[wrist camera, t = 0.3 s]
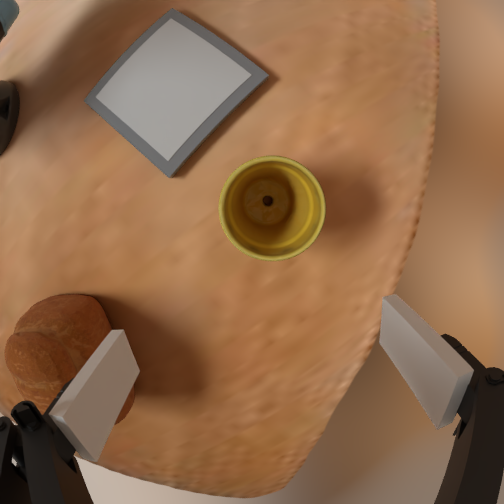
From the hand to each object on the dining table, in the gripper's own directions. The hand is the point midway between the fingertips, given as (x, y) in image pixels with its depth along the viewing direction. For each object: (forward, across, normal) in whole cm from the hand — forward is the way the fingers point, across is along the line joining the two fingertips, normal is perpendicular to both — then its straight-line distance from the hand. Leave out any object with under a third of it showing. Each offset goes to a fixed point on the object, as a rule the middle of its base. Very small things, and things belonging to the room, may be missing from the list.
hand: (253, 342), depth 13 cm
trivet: (+24, -8, +22) cm, 34 cm away
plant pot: (+25, +2, +4) cm, 26 cm away
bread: (+25, -32, -15) cm, 43 cm away
